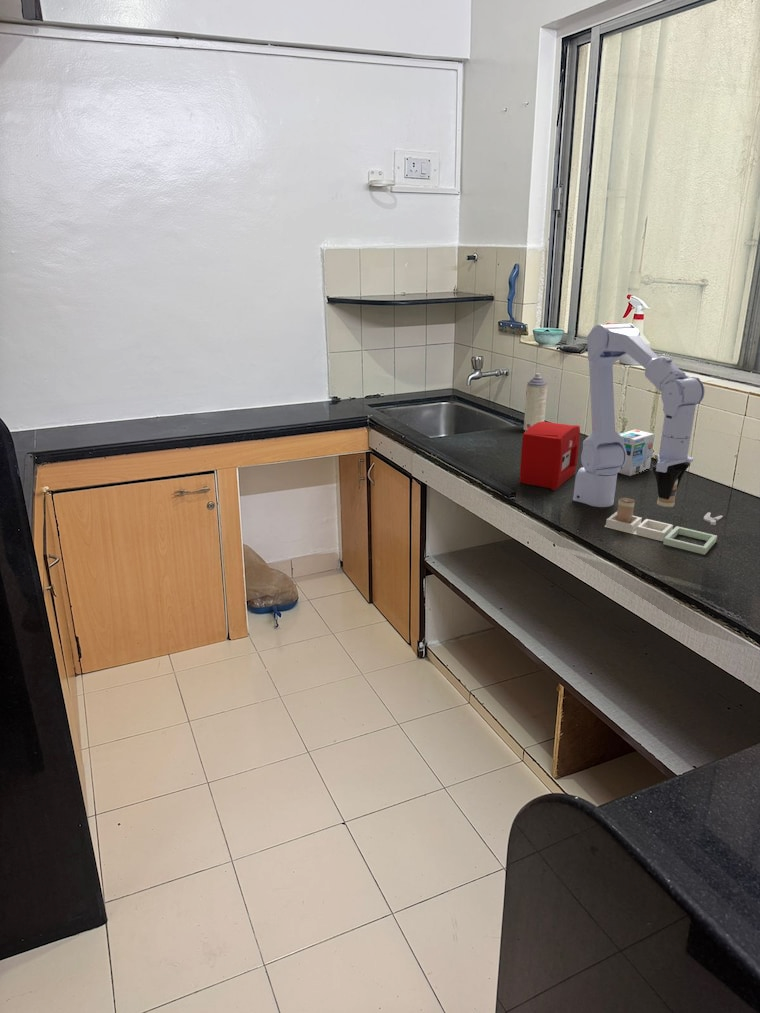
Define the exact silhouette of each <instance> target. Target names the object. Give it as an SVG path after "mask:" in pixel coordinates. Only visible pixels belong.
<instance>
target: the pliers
mask: <svg viewBox="0 0 760 1013" xmlns="http://www.w3.org/2000/svg"><path fill="white" fill-rule="evenodd" d="M723 517H724V516H723V515H718V516H715V517H712V516H711V512H707V513H706V514H705V515H704V516H703V521H705V522H707V523H710V526H712V525H713V526H715V525H717V521H720V520H721V519H723Z"/></svg>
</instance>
